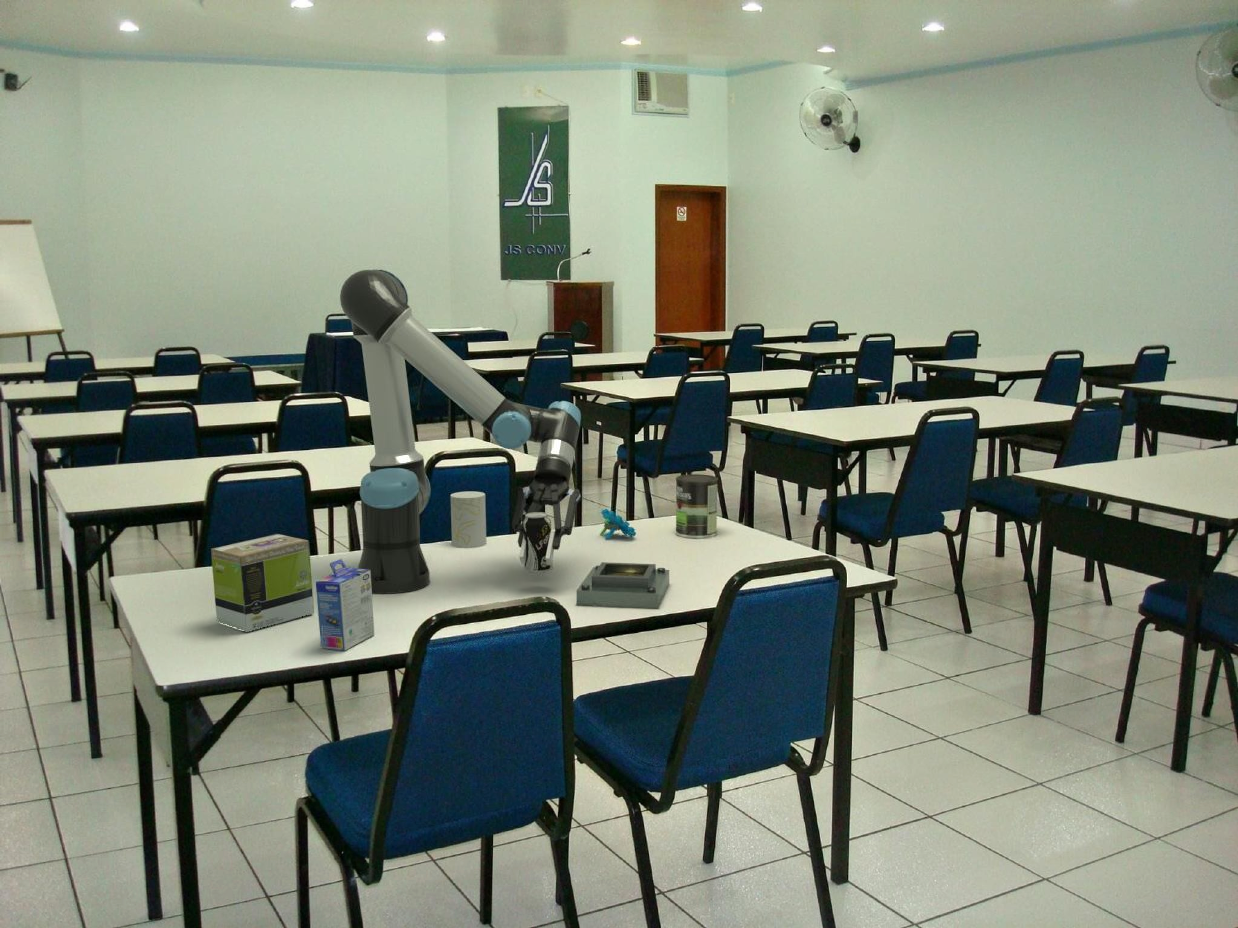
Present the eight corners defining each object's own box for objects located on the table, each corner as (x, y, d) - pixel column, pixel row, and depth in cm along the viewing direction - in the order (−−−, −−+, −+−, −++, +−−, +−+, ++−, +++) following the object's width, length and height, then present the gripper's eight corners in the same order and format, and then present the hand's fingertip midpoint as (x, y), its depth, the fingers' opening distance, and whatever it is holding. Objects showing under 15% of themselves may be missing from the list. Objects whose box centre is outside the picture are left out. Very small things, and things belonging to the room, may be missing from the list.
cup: (446, 546, 274) (444, 496, 272) (460, 539, 282) (459, 490, 280) (478, 548, 272) (476, 498, 270) (491, 541, 279) (490, 492, 277)
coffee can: (689, 540, 279) (689, 482, 277) (667, 532, 288) (668, 476, 286) (725, 535, 284) (726, 479, 281) (703, 527, 293) (703, 472, 290)
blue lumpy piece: (644, 533, 279) (615, 507, 276) (629, 553, 277) (600, 526, 274) (624, 531, 289) (596, 505, 286) (610, 549, 287) (582, 524, 284)
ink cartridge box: (349, 631, 210) (345, 553, 207) (376, 634, 208) (372, 556, 205) (317, 648, 200) (313, 567, 198) (345, 651, 199) (341, 569, 196)
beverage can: (534, 576, 232) (531, 518, 230) (519, 571, 236) (516, 513, 234) (558, 571, 235) (556, 514, 233) (543, 566, 240) (540, 509, 238)
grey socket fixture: (593, 581, 243) (593, 557, 242) (669, 583, 240) (669, 560, 239) (576, 605, 225) (576, 580, 224) (658, 608, 223) (658, 583, 222)
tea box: (283, 605, 226) (280, 531, 224) (315, 615, 220) (311, 539, 217) (214, 623, 215) (209, 546, 212) (245, 634, 208) (240, 554, 206)
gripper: (597, 478, 247) (580, 573, 233) (516, 474, 249) (495, 567, 236) (593, 458, 241) (576, 553, 227) (510, 453, 243) (488, 548, 230)
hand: (535, 560), depth 232 cm, fingers closed on beverage can, 5 cm apart
